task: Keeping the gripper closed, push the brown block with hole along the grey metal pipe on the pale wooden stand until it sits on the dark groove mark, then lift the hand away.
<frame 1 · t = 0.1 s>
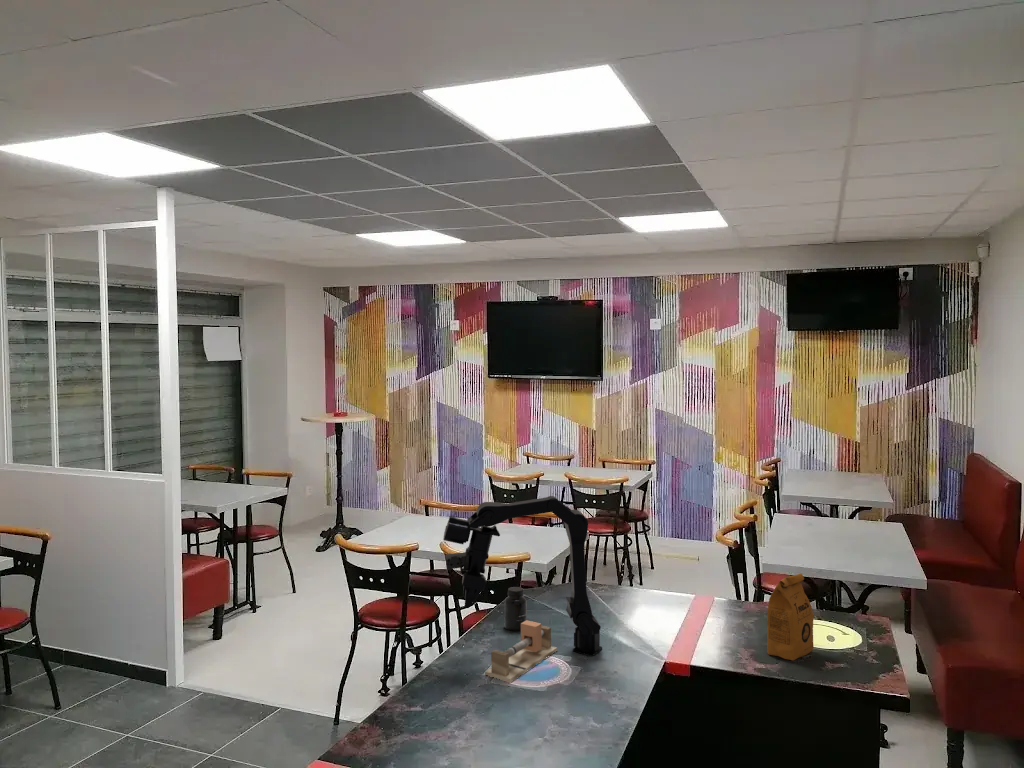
hand: (465, 602, 204), 15 cm above the counter, tool pointing down, fingers open, 9 cm apart
coffee package: (790, 654, 204), on the counter
pipe stand: (522, 662, 200), on the counter
brown block with hole: (531, 635, 204), point 6 cm above the counter, slide at -4.5 cm
supplement bottle: (515, 628, 226), on the counter
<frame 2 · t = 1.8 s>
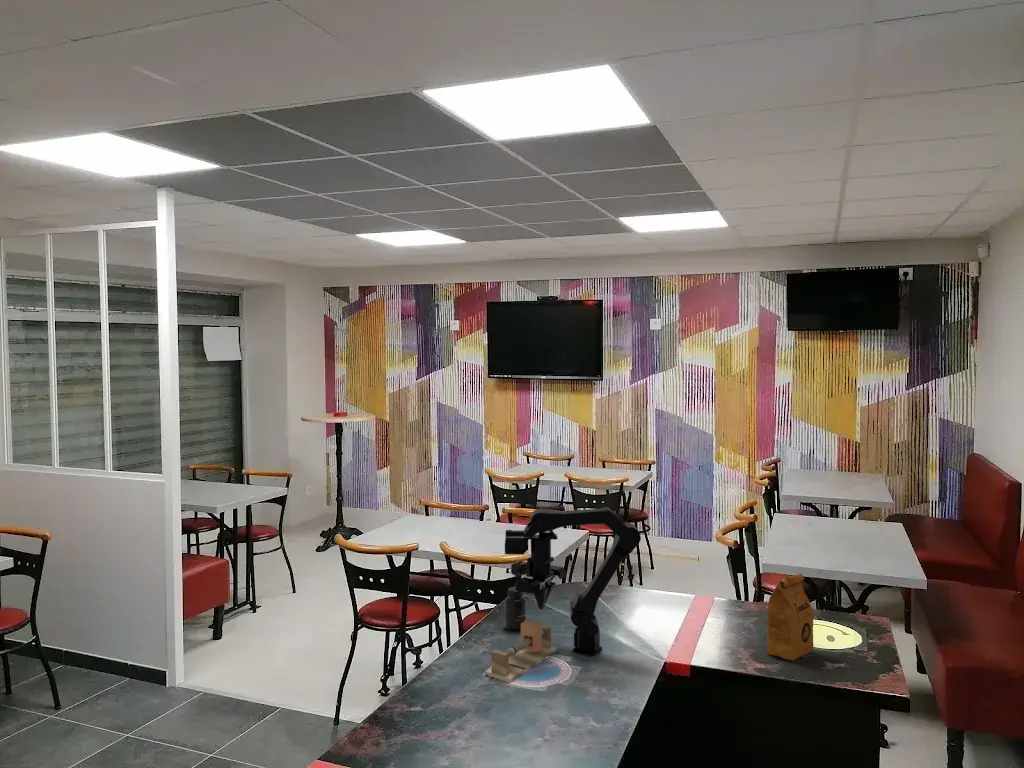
hand: (541, 608, 208), 12 cm above the counter, tool pointing down, fingers closed
nothing on the counter moved.
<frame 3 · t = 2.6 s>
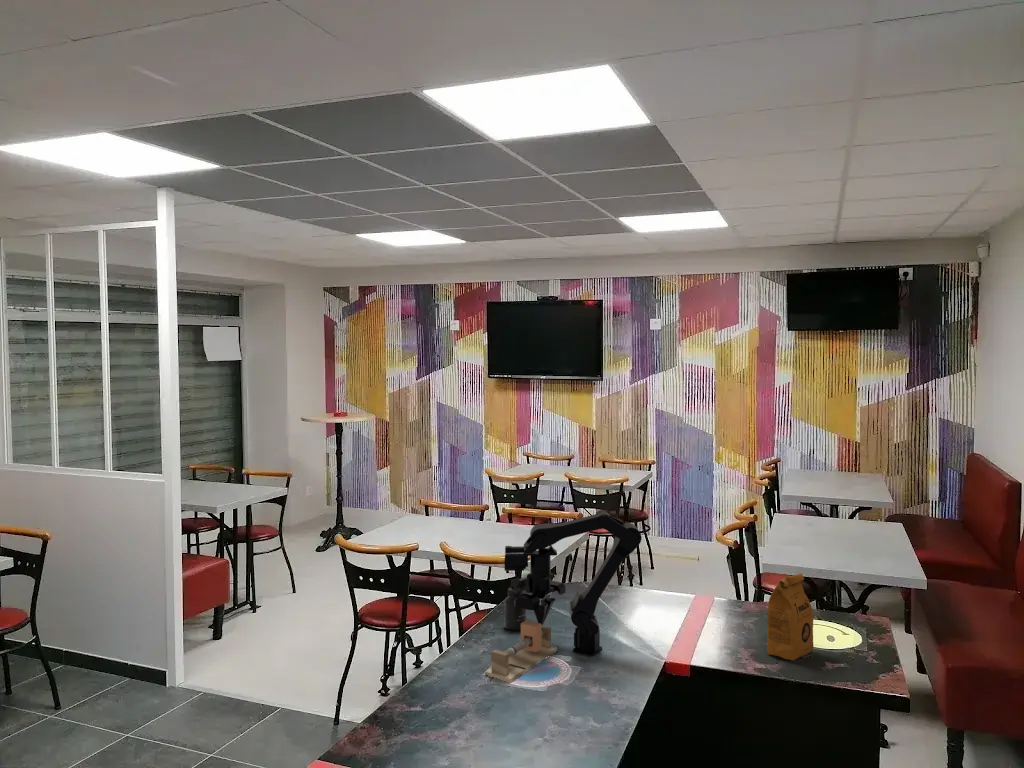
hand: (540, 624, 208), 8 cm above the counter, tool pointing down, fingers closed
nothing on the counter moved.
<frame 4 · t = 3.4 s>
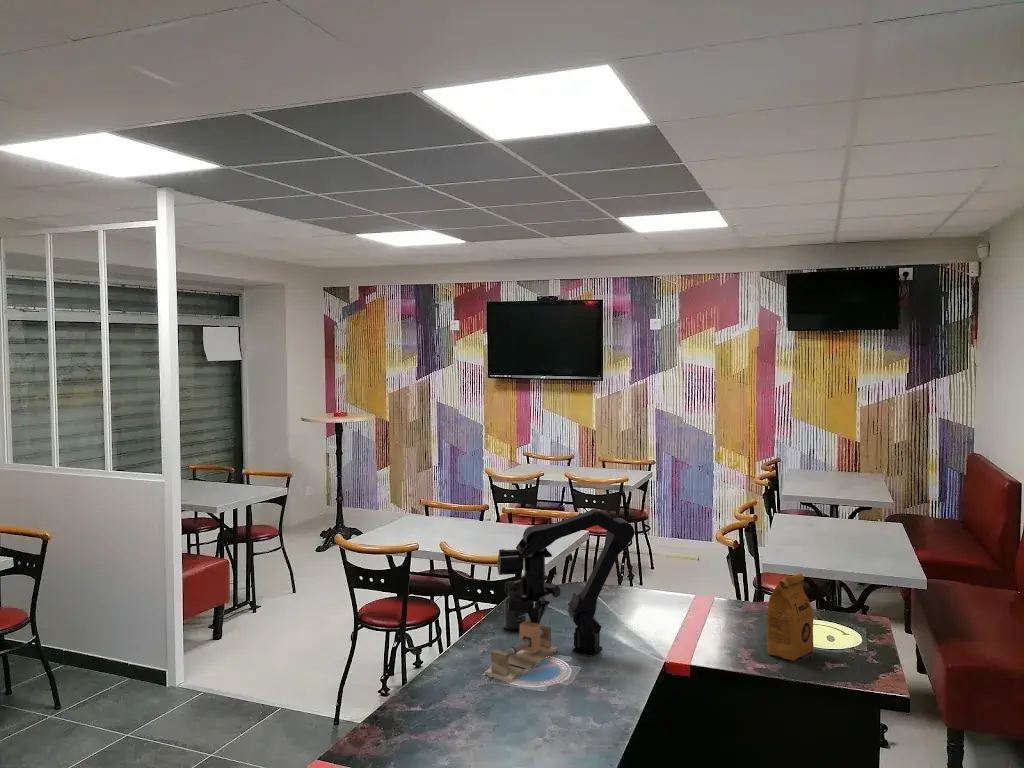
hand: (535, 627, 205), 8 cm above the counter, tool pointing down, fingers closed
brown block with hole: (529, 636, 203), point 6 cm above the counter, slide at -3.9 cm, touching gripper
everything else where it was.
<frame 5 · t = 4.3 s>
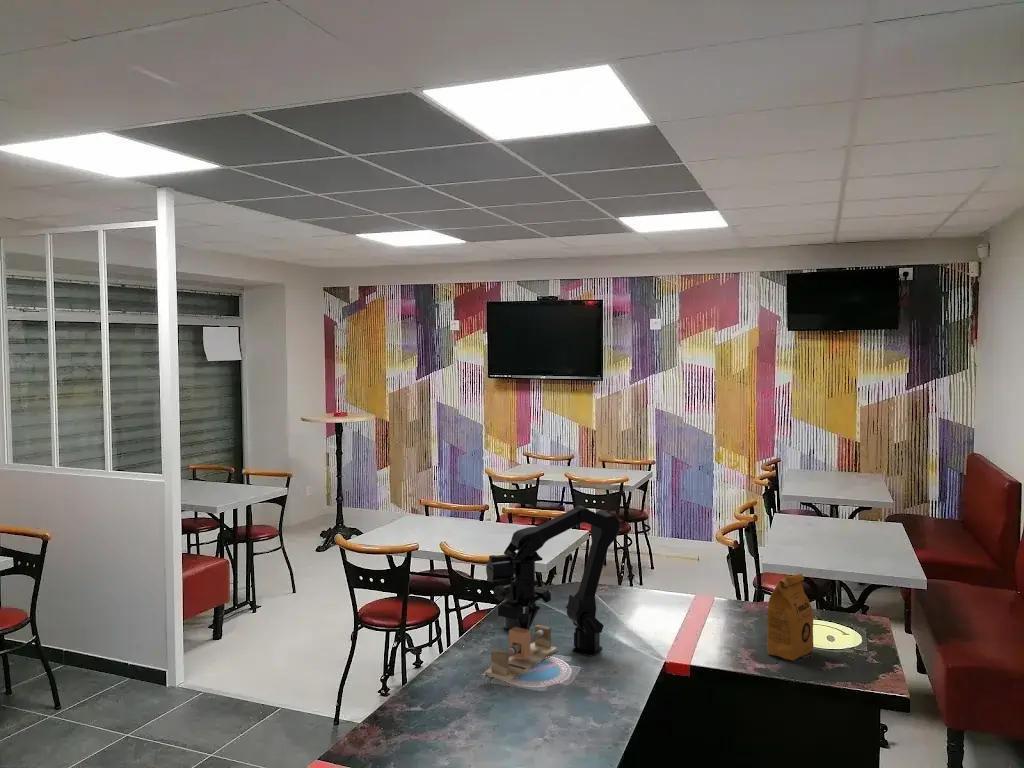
hand: (524, 633, 201), 8 cm above the counter, tool pointing down, fingers closed
brown block with hole: (519, 642, 199), point 6 cm above the counter, slide at 1.4 cm, touching gripper
everything else where it was.
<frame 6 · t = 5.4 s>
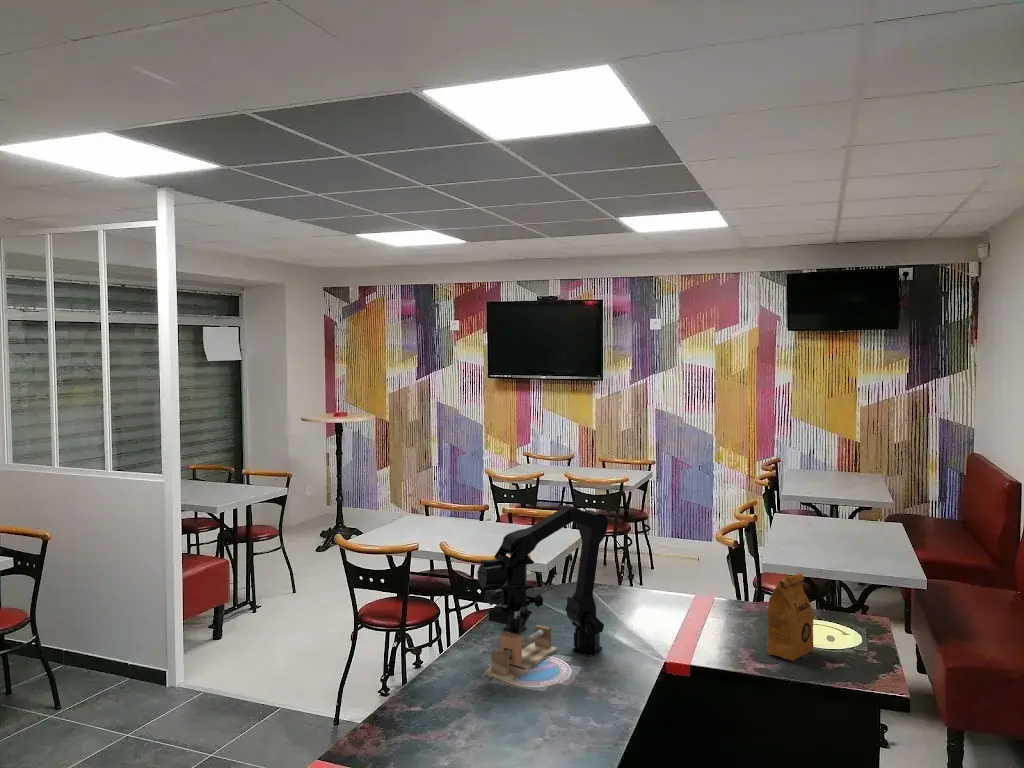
hand: (516, 638, 197), 8 cm above the counter, tool pointing down, fingers closed
brown block with hole: (510, 648, 195), point 6 cm above the counter, slide at 5.6 cm, touching gripper
everything else where it was.
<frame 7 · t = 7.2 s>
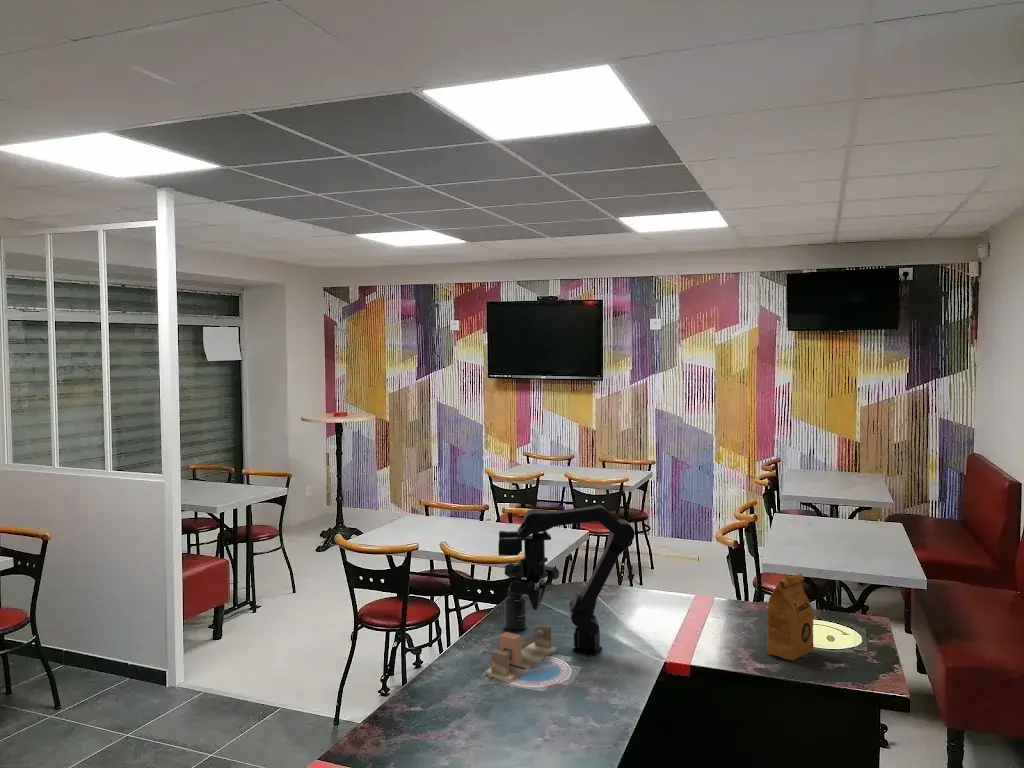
hand: (535, 609, 208), 12 cm above the counter, tool pointing down, fingers closed
brown block with hole: (510, 648, 195), point 6 cm above the counter, slide at 5.7 cm
everything else where it was.
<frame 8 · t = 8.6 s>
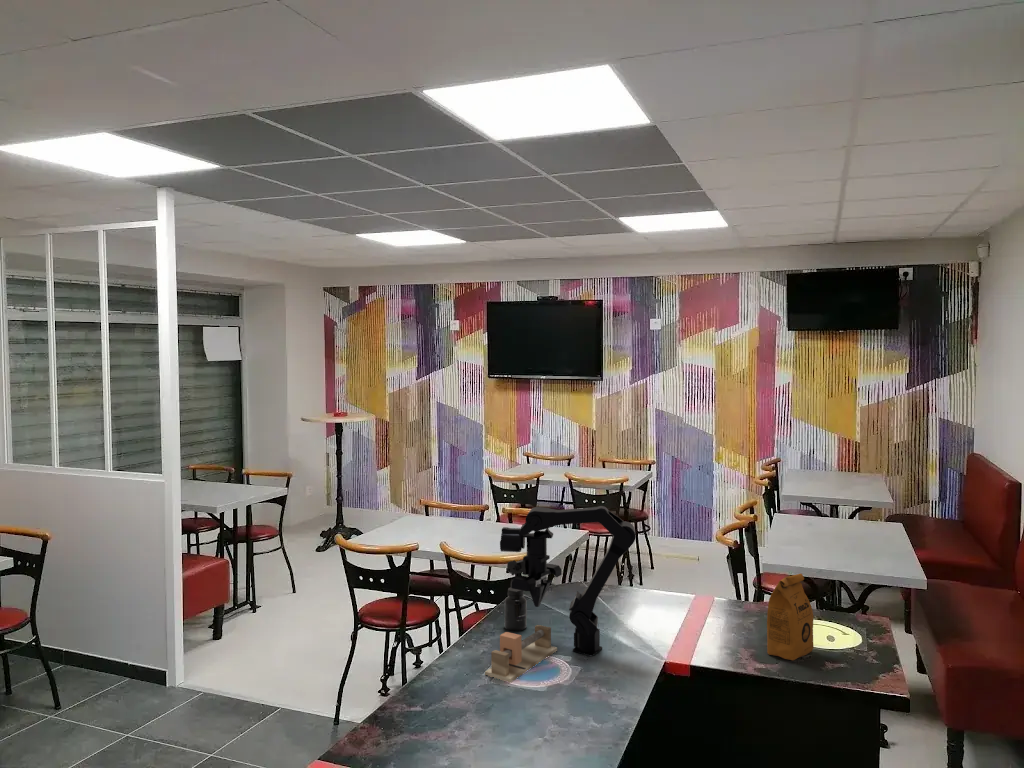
hand: (537, 606, 210), 12 cm above the counter, tool pointing down, fingers closed
nothing on the counter moved.
at the end: brown block with hole slide at 5.7 cm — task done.
